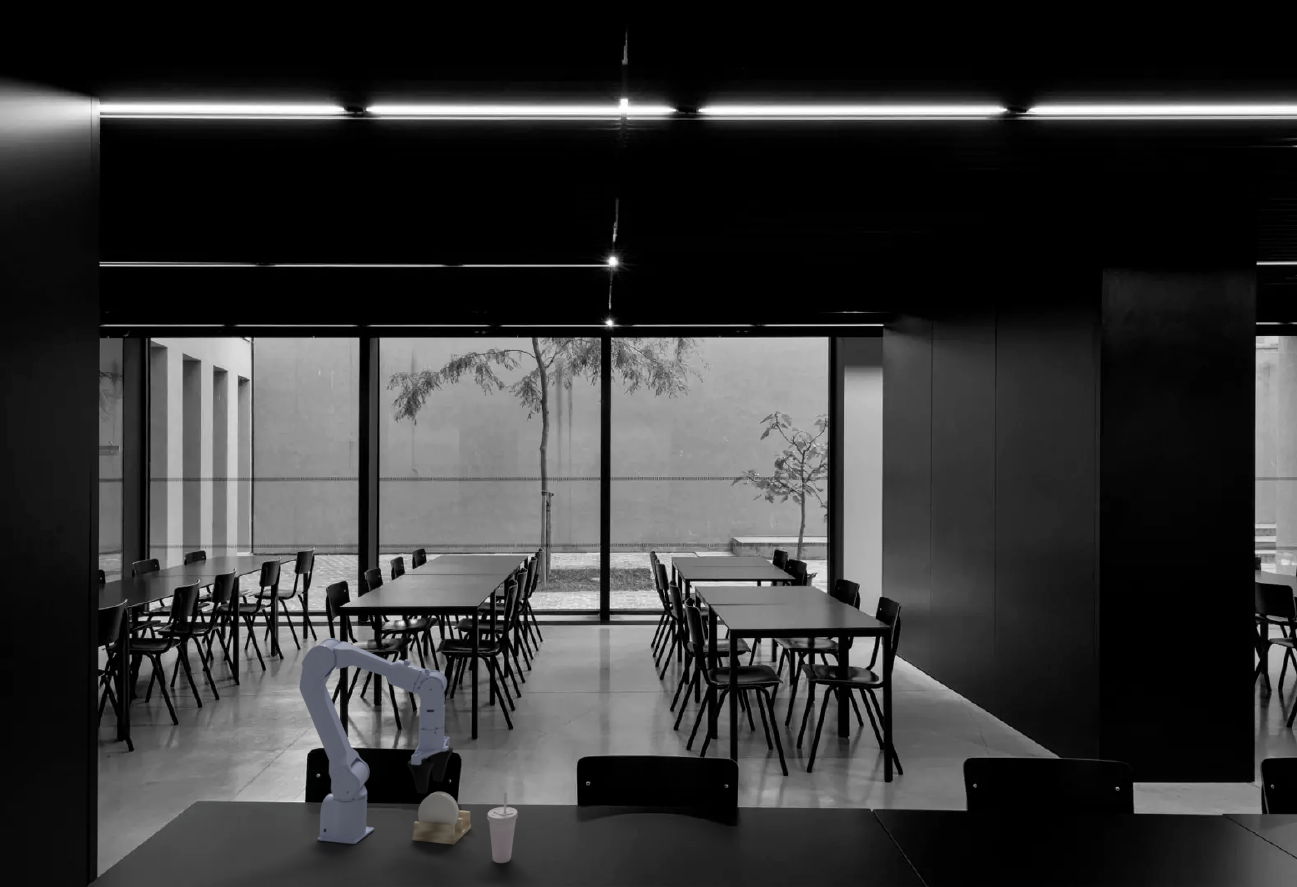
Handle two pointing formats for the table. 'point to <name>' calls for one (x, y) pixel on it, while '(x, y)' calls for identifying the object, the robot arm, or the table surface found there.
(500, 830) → the smoothie
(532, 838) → the table surface
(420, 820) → the plate
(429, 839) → the rack
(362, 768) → the robot arm
